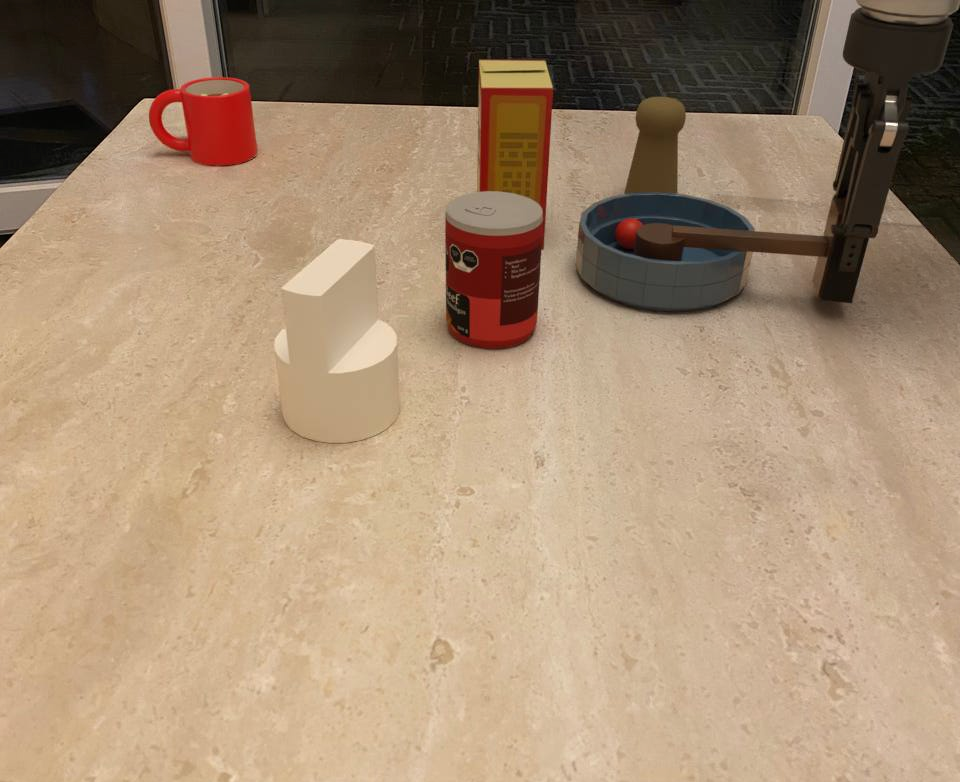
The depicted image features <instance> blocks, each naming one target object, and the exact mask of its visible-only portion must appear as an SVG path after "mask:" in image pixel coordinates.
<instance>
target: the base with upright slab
mask: <svg viewBox="0 0 960 782" xmlns="http://www.w3.org/2000/svg"><path fill="white" fill-rule="evenodd" d="M377 279H378V278H377V261H376V245H374V244H371V243H368V242H364V241H360V240H353V239H344V238H338V239H336V240H335V241H333V243H332V244H330V245H329V246H328V247H327V248H326V249H325V250H324V251H322V252H321V253H320V254H319V255H317V256H316V257H315V258H314V259H313V260H312V261H311V262H310V263H308V264H307V265H306V266H305V267H303V269H301V270H300V271H299V272H298V273H297V274H295V276H293V277H292V278H290V280H288V282H287V283H285V284H284V285H283V286H282V287H281V288H280V290H281V300H282V308H283V316H284V324H285V325H284V326H285V327H284V328H282V329H281V330H280V332H279V333H278V334H277V336H275V340H274V344H273V350H274V356H275V366H276V373H277V374H276V375H277V380H278V389H279V397H280V398H279V399H280V405H281V413H282V417H283V421H284V423H285V424H286V426H287V427H288V429H290V430H291V431H292V432H294V433H295V434H297V435H299V436H300V437H302V438H305V439H308V440H311V441H315V442H319V443H320V442H321V443H328V444H347V443H353V442H358V441H363V440H367V439H370V438H372V437H375V436H377V435H378V434H380V433H382V432H384V431H386V430H387V429H388V428H389V427H391V426H392V425H394V423H395V422H396V420H397V418H398V416H399V414H400V404H401V403H400V386H399V385H400V383H399V381H400V380H399V355H398V354H399V353H398V336H397V334H396V332H395V330H394V329H393V328H392V326H390V325H389V324H388V323H387V322H385V321H383V320H381V319H380V318H379V299H378V296H379V295H378V280H377Z"/></svg>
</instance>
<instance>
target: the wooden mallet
mask: <svg viewBox="0 0 960 782" xmlns="http://www.w3.org/2000/svg"><path fill="white" fill-rule="evenodd" d="M845 203H846V199H842V198H833V197H832V198H831V202H830V206H829V210H828V214H827V218H826V223H825V227H824V231H823V234H822V235H815V234H802V233H801V234H799V233H786V232H772V231H757V230H755V231H745V230H731V229H716V228H702V227H688V226H674V225H669V224H663V223H650V224H645V225H642V226H640V227H639V228H638V229H637V231H636V239H635V247H634V255H636V256H640V257H644V258H648V259H657V260H667V261H682V256H683V249H684V247H692V248H706V249H720V250H734V251H748V252H753V253H764V254H778V255H791V256H803V257H805V256H806V257H817V259H816V263H815V267H814V272H813V275H812V279H811V281H812V284H813V288H814V292H815V295H816V298H817V299H819V300H820V294H821V290H822V286H823V282H824V278H825V274H826V269H827V265H828V261H829V257H830V253H831V249H832V245H833V241H834V237H835V234H834V233H831V225H840V224H841V222H842V217H843V212H844V207H845Z"/></svg>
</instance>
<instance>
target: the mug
mask: <svg viewBox="0 0 960 782" xmlns="http://www.w3.org/2000/svg"><path fill="white" fill-rule="evenodd" d="M251 95H252V94H251V87H250V84H249V83H248V82H247V81H245V80H243V79H240V78H236V77H225V76H215V77H213V76H212V77H211V76H210V77H203V78H197V79H193V80H191V81H188V82H185V83H184V84H182V85H181V86H180V88H175V89H173V88H172V89H168V90H165V91H162V92H161V93H160V94H158V95H157V96H156V97H155V98H154V99H153V101H152V102H151V105H150V107H149V110H148V121H149V126H150V129H151V131H152V132H153V134H154V136H155V137H156V138H157V140H158V141H159V142H160V143H162V145H164V146H165V147H167V148H169V149H170V150H171V149H172V150H174V151H178V152H189V155H190V159H191V158H192V159H193V160H194V161H193V160H192V159H191V160H192V161H193V162H194V163H197V162H198V163H197V164H199V163H201V164H200V165H203V164H206V165H205V166H208V165H230V166H232V165H231V164H237V165H239V164H238V163H241V164H243V163H242V162H245V161H248V160H249V159H251V158H253V157H254V156H255V155H256V154H257V152H258V145H257V144H258V143H257V138H256V129H255V119H254V112H253V105H252V104H253V102H252V96H251ZM174 103H181V106H182V112H183V118H184V123H185V130H186V137H187V138H179V137H176V136H174V135H173V134H170V132H169V131H168V130H167V129H166V128H165V126H164V123H163V112H164V110H165V109H166V108H167V107H168V106H169V105H171V104H174ZM257 155H258V154H257ZM253 159H254V158H253ZM248 162H249V161H248ZM245 163H246V162H245Z"/></svg>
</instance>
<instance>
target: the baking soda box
mask: <svg viewBox="0 0 960 782" xmlns="http://www.w3.org/2000/svg"><path fill="white" fill-rule="evenodd" d="M477 95H478V97H477V98H478V100H477V103H478V105H477V107H478V108H477V162H476V163H477V164H476V165H477V167H476V168H477V169H476V172H477V173H476V176H477V178H476V192H485V191H498V192H508V193H513V194H518V195H521V196H524V197H527V198H530V199H532V200H533V201H535V202H537V203H538V204H539V205H540V206H541V208H542V211H543V233H542V250H544V249H545V233H546V232H545V231H546V218H547V215H546V214H547V201H548V184H549V183H548V182H549V169H550V167H549V166H550V150H551V149H550V148H551V135H552V133H551V132H552V131H551V130H552V117H553V116H552V115H553V114H552V113H553V102H554V101H553V100H554V87H553V83H552V79H551V77H550V73H549V69H548V65H547V61H546V59H487V58H486V59H481V58H480V59H478V94H477Z"/></svg>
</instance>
